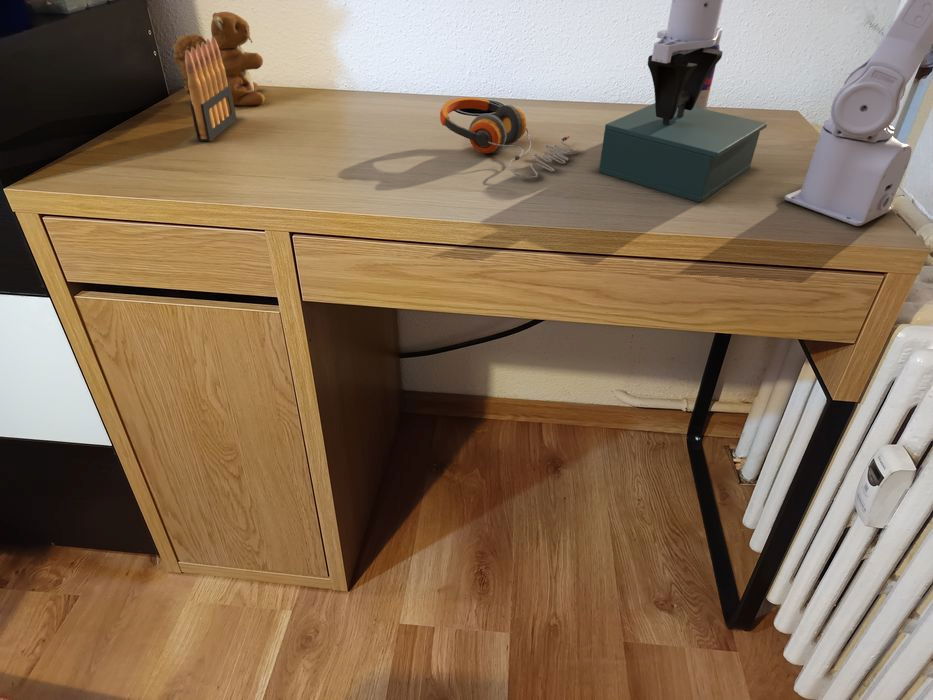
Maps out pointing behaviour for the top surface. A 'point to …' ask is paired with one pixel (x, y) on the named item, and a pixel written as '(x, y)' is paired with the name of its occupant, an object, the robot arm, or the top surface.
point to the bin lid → (689, 128)
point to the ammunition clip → (209, 91)
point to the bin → (673, 165)
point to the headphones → (497, 129)
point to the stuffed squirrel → (227, 56)
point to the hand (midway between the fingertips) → (674, 113)
